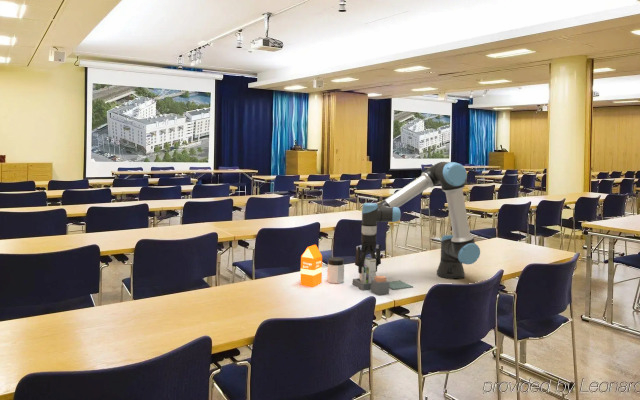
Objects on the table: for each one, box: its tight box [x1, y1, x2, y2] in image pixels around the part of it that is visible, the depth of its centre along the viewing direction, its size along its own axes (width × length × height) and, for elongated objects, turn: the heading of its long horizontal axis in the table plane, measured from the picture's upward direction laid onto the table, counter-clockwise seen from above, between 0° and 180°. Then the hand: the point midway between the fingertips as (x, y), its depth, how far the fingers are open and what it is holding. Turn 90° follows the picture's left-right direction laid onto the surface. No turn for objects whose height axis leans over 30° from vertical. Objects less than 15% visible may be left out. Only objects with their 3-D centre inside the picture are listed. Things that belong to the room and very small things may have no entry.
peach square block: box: [375, 275, 387, 282], centre depth 234 cm, size 4×4×4 cm
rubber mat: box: [389, 279, 414, 291], centre depth 248 cm, size 12×12×1 cm
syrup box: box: [360, 256, 376, 284], centre depth 244 cm, size 6×6×14 cm
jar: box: [326, 256, 345, 284], centre depth 252 cm, size 9×8×12 cm
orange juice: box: [300, 244, 323, 288], centre depth 246 cm, size 8×9×20 cm
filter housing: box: [352, 277, 390, 296], centre depth 240 cm, size 11×21×6 cm, turn 25°
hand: (367, 278), depth 245 cm, fingers closed on syrup box, 6 cm apart
